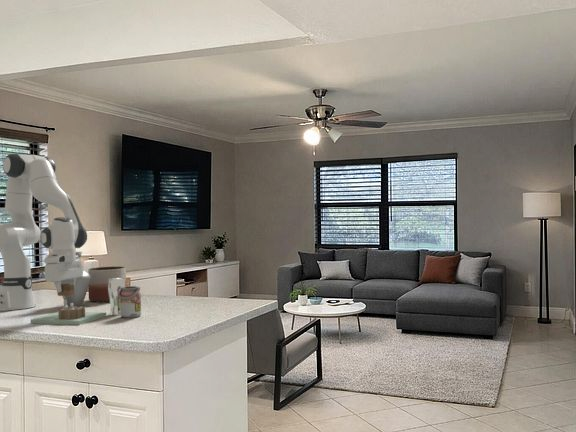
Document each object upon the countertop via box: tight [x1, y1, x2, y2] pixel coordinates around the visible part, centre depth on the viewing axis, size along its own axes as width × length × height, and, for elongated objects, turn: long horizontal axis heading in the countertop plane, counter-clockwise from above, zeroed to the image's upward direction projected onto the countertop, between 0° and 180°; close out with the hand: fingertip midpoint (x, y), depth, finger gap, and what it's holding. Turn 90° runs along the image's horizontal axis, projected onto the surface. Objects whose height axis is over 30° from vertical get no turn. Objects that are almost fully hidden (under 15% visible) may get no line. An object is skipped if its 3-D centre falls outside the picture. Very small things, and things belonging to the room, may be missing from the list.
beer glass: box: [108, 278, 125, 316], centre depth 238 cm, size 7×7×15 cm
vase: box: [60, 251, 90, 307], centre depth 263 cm, size 14×14×25 cm
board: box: [30, 300, 107, 326], centre depth 228 cm, size 22×18×7 cm
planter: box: [87, 265, 127, 303], centre depth 279 cm, size 18×18×16 cm
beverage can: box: [118, 285, 142, 319], centre depth 231 cm, size 9×8×12 cm
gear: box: [57, 284, 74, 297], centre depth 232 cm, size 6×6×4 cm
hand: (65, 290), depth 232 cm, fingers closed on gear, 6 cm apart
